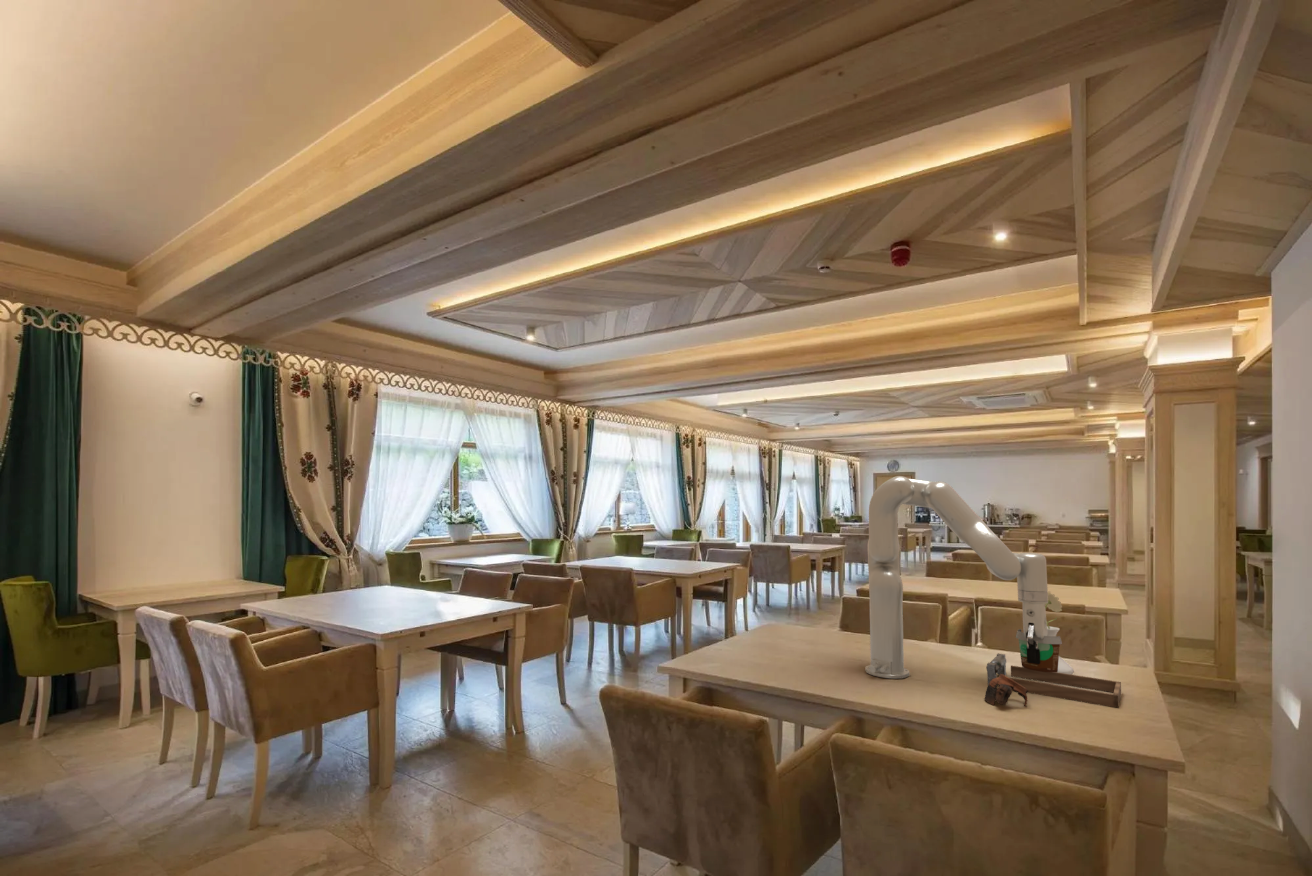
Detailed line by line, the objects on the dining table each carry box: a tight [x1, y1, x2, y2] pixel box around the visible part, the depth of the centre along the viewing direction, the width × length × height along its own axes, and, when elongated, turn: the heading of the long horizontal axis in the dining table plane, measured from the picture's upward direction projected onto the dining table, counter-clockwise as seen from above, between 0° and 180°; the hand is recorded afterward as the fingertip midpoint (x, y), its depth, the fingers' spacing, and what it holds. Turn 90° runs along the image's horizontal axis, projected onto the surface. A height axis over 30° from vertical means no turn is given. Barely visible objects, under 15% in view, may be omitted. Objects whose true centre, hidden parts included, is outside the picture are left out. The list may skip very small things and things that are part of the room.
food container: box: [1015, 628, 1063, 672], centre depth 186 cm, size 12×6×10 cm, turn 29°
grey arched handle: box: [985, 653, 1007, 686], centre depth 193 cm, size 18×3×6 cm, turn 142°
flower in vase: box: [1045, 590, 1075, 675], centre depth 201 cm, size 13×11×25 cm
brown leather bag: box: [983, 674, 1029, 707], centre depth 170 cm, size 12×10×8 cm
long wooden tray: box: [1007, 665, 1122, 709], centre depth 182 cm, size 16×27×3 cm, turn 52°
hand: (1035, 660), depth 186 cm, fingers closed on food container, 6 cm apart
